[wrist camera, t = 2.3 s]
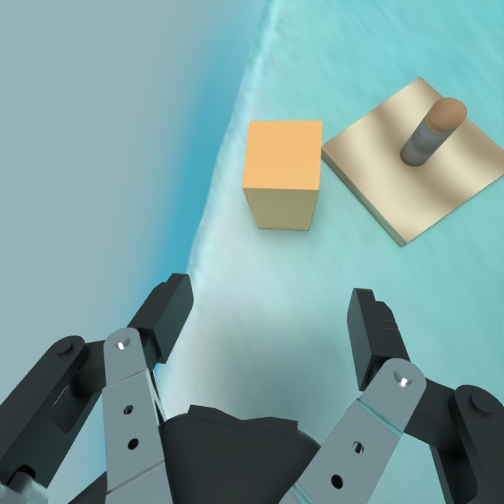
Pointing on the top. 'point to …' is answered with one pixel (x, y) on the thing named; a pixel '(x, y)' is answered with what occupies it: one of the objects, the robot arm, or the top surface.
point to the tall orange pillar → (283, 172)
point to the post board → (407, 184)
